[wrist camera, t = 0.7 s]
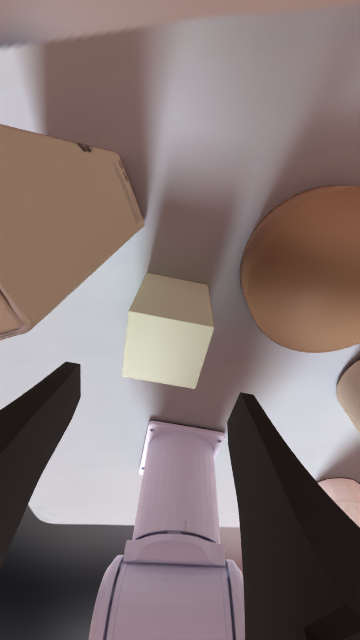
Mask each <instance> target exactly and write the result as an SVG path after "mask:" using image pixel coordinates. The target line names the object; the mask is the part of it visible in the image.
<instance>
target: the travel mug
mask: <svg viewBox="0 0 360 640" xmlns="http://www.w3.org/2000/svg"><path fill="white" fill-rule="evenodd" d="M336 394H337V399H338V401H339V403H340V404H341V406H342V407H343V409H344V410H345V412H346V413H347V415H348V416H349V418H350V420H351V421H352V423H353V424H354V426H355V427H356V429H357V430H358V432H359V433H360V360H358V361H357V362H356V363H354V364H353V365H352V366H351V367H349V368H348V369H347V370H346V372H345V373H344V374H343V375H342V377H341V378H340V380H339V382H338V385H337V390H336Z"/></svg>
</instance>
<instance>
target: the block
mask: <svg viewBox="0 0 360 640" xmlns="http://www.w3.org/2000/svg"><path fill="white" fill-rule="evenodd" d="M213 331H214V321H213V315H212V308H211V301H210V294H209V288H208V285H206V284H201V283H196V282H191V281H186V280H181V279H176V278H171V277H166V276H161V275H156V274H151V273H147V274H146V276H145V278H144V280H143V282H142V284H141V286H140V288H139V290H138V293H137V295H136V297H135V299H134V301H133V303H132V305H131V307H130V309H129V312H128V321H127V331H126V340H125V350H124V359H123V369H122V376H123V377H129V378H134V379H140V380H146V381H151V382H157V383H163V384H168V385H174V386H180V387H185V388H191V389H195V388H196V385H197V382H198V379H199V375H200V372H201V369H202V366H203V363H204V359H205V356H206V353H207V350H208V347H209V343H210V340H211V337H212V334H213Z"/></svg>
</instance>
